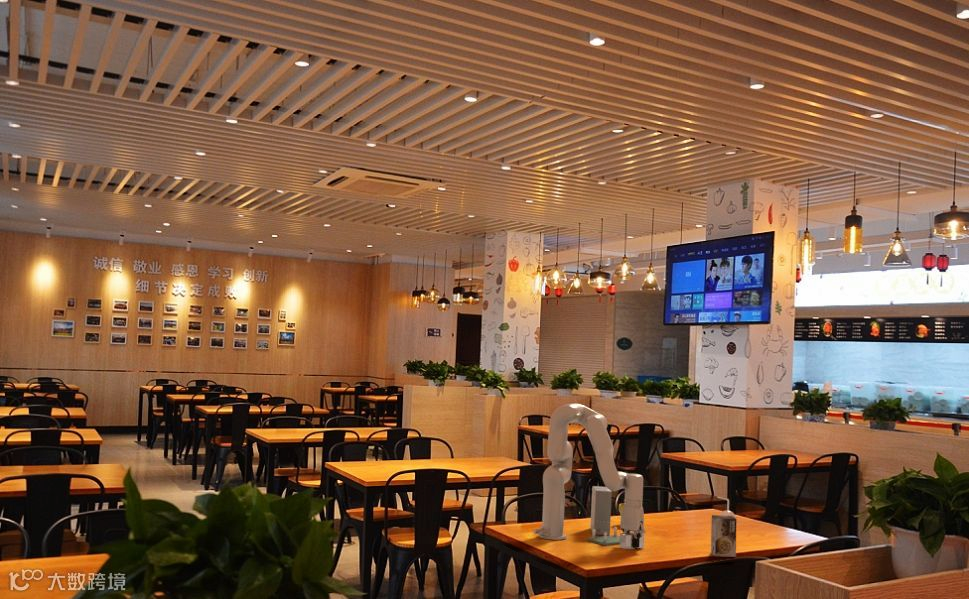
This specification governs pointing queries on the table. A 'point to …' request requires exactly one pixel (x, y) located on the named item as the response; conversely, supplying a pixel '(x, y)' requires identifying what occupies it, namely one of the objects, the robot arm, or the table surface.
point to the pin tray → (606, 538)
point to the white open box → (630, 540)
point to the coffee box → (723, 536)
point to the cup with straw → (727, 512)
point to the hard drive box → (601, 510)
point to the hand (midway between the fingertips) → (631, 545)
